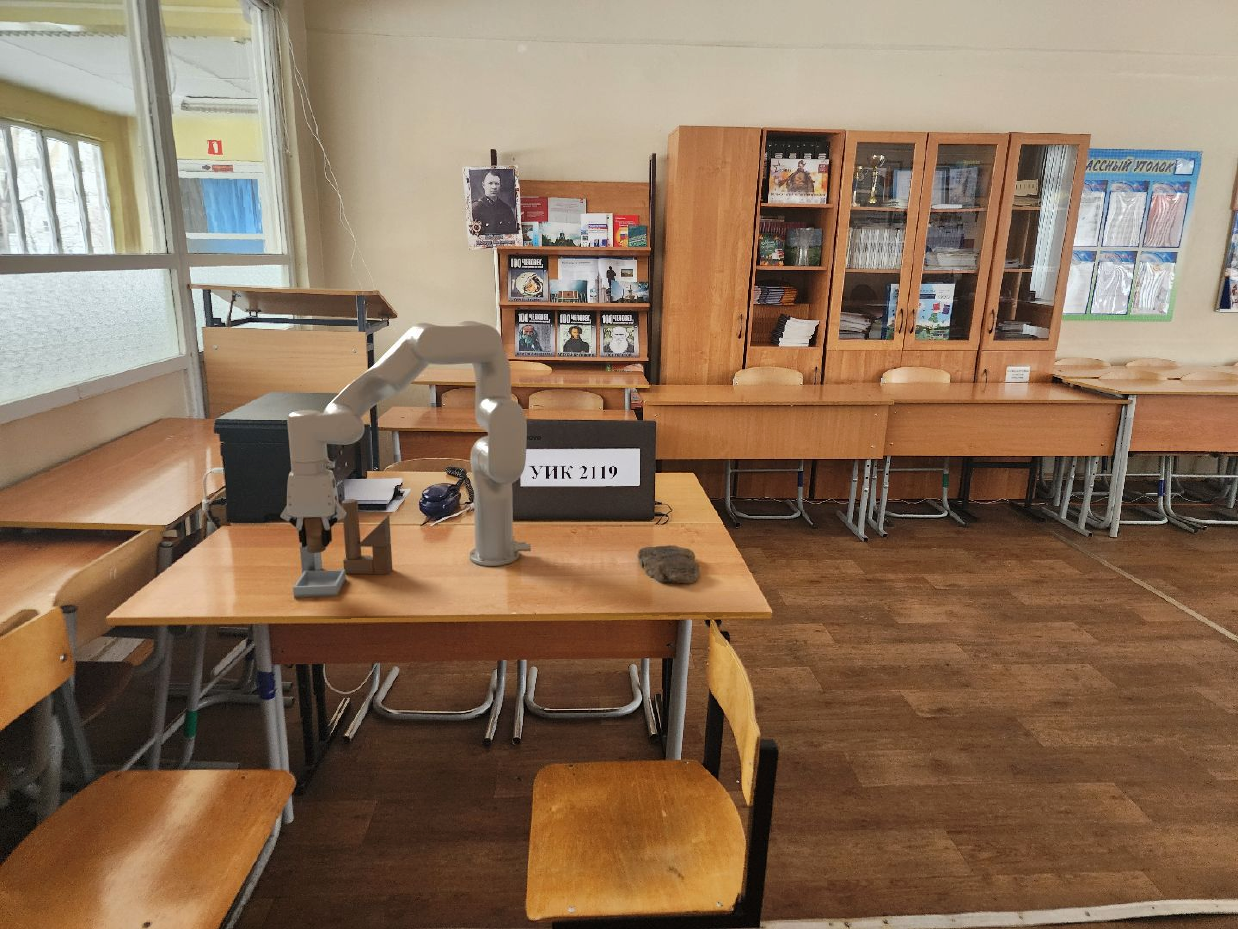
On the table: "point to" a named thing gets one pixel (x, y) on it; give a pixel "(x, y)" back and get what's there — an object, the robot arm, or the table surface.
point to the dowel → (314, 534)
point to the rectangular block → (310, 560)
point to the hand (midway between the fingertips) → (316, 544)
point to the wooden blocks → (365, 544)
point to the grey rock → (669, 564)
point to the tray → (319, 583)
